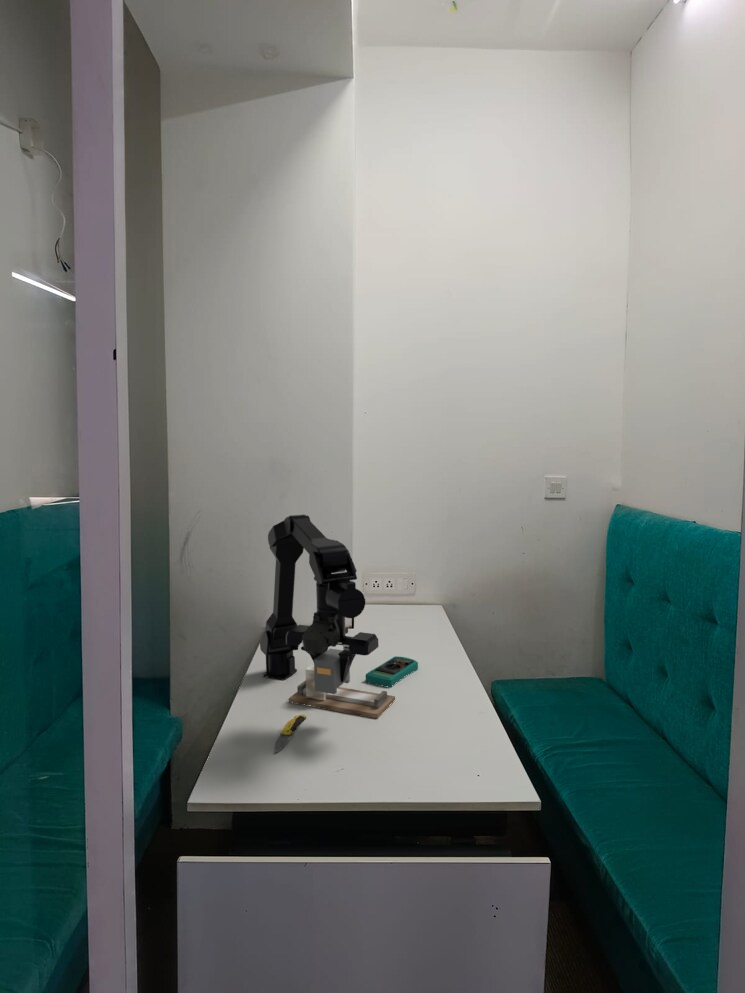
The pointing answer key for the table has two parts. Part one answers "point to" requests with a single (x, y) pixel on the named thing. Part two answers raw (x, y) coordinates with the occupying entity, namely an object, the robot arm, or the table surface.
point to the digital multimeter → (391, 671)
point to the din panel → (342, 698)
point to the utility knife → (288, 731)
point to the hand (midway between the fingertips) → (332, 679)
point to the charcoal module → (328, 672)
